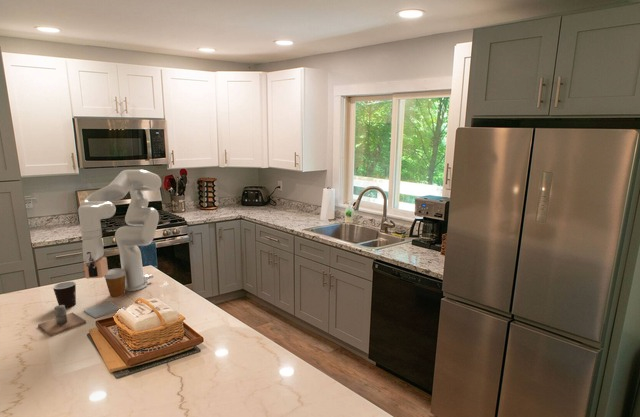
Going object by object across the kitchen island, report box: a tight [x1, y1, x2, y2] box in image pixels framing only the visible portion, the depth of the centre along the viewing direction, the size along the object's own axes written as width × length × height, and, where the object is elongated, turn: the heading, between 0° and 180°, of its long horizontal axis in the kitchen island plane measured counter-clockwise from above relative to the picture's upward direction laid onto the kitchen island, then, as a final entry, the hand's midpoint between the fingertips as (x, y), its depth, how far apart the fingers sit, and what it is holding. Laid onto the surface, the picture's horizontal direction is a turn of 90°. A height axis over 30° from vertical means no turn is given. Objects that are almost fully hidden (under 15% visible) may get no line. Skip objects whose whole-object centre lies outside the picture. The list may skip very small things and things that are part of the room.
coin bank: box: [83, 256, 109, 279], centre depth 170 cm, size 7×7×7 cm
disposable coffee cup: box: [103, 268, 126, 298], centre depth 189 cm, size 10×10×12 cm
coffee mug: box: [52, 280, 77, 310], centre depth 180 cm, size 12×9×10 cm
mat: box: [83, 301, 122, 319], centre depth 174 cm, size 11×11×1 cm
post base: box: [37, 305, 87, 337], centre depth 161 cm, size 13×13×8 cm
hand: (97, 273), depth 170 cm, fingers closed on coin bank, 6 cm apart
